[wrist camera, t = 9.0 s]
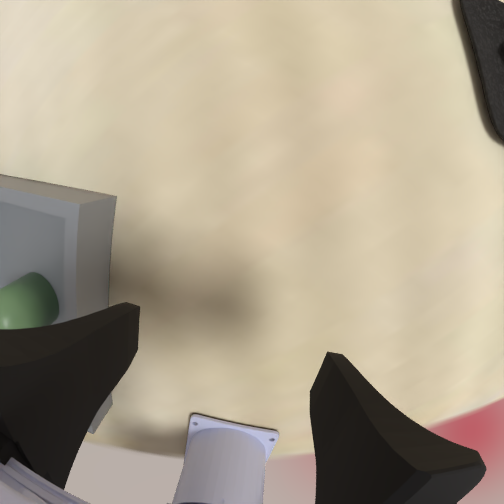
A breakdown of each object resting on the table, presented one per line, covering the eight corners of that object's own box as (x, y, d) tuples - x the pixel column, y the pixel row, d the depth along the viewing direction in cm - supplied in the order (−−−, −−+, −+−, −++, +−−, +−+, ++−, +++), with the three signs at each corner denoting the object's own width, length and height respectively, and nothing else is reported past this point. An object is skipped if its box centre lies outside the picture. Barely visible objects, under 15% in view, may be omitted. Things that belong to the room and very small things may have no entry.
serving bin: (112, 404, 24) (93, 434, 20) (3, 347, 24) (-19, 365, 20) (116, 196, 19) (79, 204, 15) (-11, 172, 19) (-44, 177, 15)
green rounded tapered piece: (60, 331, 22) (20, 367, 16) (24, 310, 22) (-17, 340, 16) (58, 283, 20) (10, 315, 14) (21, 264, 20) (-26, 289, 14)
